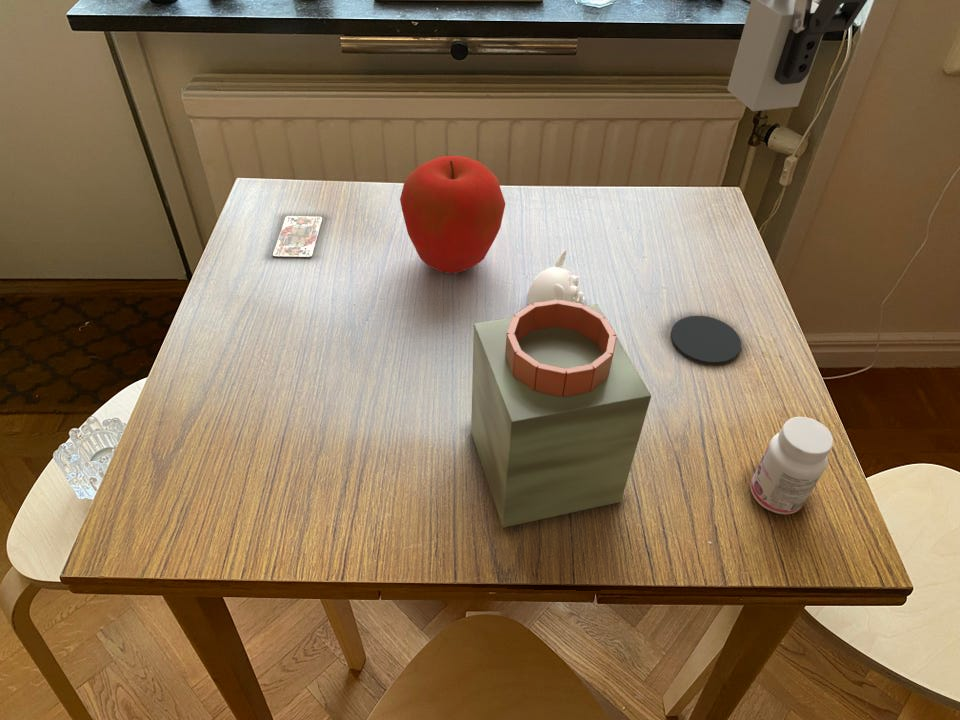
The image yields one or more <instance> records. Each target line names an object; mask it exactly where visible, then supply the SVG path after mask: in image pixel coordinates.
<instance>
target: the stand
mask: <svg viewBox="0 0 960 720" xmlns="http://www.w3.org/2000/svg"><path fill="white" fill-rule="evenodd" d="M587 306H588V307H590V308H591V309H593V310H595V311H596V312H598V313H600V314H601V315H603V316H605V314H604V313H603V311H602V309H601V307H600V306H599V304H597V303H596V304H590V305H589V304H588V305H587ZM511 319H512V317H506V318H500V319H493V320H488V321H481V322H475V323H473V336H472V338H473V339H472V375H471V376H472V380H471V417H470V420H471V421H470V424H471V425H470V433H471V436H472V439H473V442H474V445H475V448H476V451H477V454H478V458H479V460H480V464H481V467H482V470H483V472H484V473H483V474H484V475H485V480H486V482H487V484H488V488H489V490H490V494H491V497H492V500H493V503H494V506H495V509H496V513H497V515H498V518H499V521H500V524H501V527H502V528H508V527H512V526H513V527H514V526H517V525H521V524H527V523H530V522H536V521H539V520H540V521H541V520H544V519H545V520H546V519H549V518H553V517H558V516H563V515H567V514H572V513H576V512H582V511H586V510H591V509H596V508H599V507H603V506H604V507H605V506H609V505H613V504H617V503H621V502H622V499H623V496H624V494H625V493H624V492H625V489H626V485H627V482H628V479H629V476H630V475H629V474H630V473H631V472H630V471H631V468H632V464H633V461H634V458H635V454H636V451H637V447H638V444H639V440H640V437H641V434H642V430H643V427H644V423H645V420H646V419H645V418H646V416H647V413H648V411H649V406H650V403H651V399H652V393H651V392H650V390H649V389H648V388H647V386H646V384H645V382H644V381H643V379H642V377H641V376H640V374H639V372H638V370H637V369H636V367H635V365H634V364H633V362H632V360H631V359H630V357H629V355H628V353H627V352H626V350H625V348H624V347H623V345H622V343H621V342H620V340H619V338H618V337H617V339H616V344H615V349H614V354H613V359H612V363H611V368H610V372H609V376H608V378H607V379H606V380H605V381H603V382H602V383H601V384H600V385H598V386H597V387H596V388H595V389H593V390H592V391H590V392H588V393H583V394H577V395H572V396H566V397H563V396H562V397H560V396H555V395H550V394H546V393H541V392H536V391H535V390H532V389H531V388H529V387H528V386H526V385H525V384H524V383H522V382H521V381H519V380H518V379H517V378H515V377H514V375H512V373H511V370H510V368H509V365H508V363H507V360H506V358H505V349H506V334H507V330H508V328H509V325H510V322H511ZM518 343H519V346H520V348H521V350H522V351H523V352H525V353H526V354H528V355H529V356H531V357H532V358H534V359H535V360H536V361H538V362H539V363H542V364H546V365H551V366H556V367H561V368H571V367H577V366H583V365H588V364H591V363H592V362H594V361H595V360H596V359H597V358H599V357H600V356H601V355H602V353H601V351H600V349H599V348H598V346H597V344H596V342H594V341H592V340H591V339H589V338H588V337H586V336H585V335H583V334H581V333H580V332H578V331H574V330H569V329H564V328H559V327H550V328H544V329H538V330H533V331H531V332H530V333H529V334H527V335H526V336H524V337H523V338H521V339H520V340H518Z"/></svg>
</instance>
